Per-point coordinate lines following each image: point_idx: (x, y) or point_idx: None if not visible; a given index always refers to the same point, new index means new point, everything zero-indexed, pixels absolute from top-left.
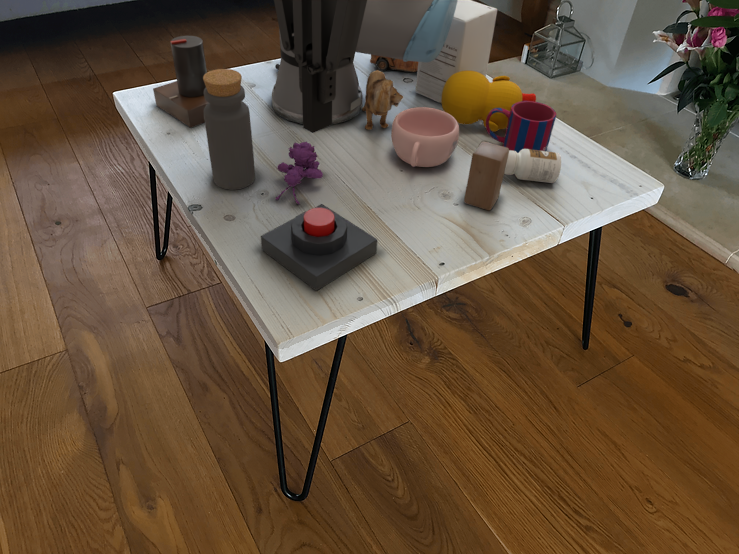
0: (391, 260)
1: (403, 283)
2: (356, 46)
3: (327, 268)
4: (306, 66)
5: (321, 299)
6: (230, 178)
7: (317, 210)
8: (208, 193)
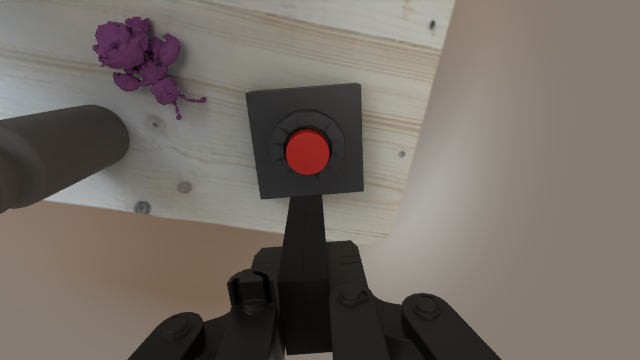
0: (380, 76)
1: (420, 96)
2: (498, 357)
3: (361, 173)
4: (295, 345)
5: (373, 186)
6: (115, 159)
7: (294, 147)
8: (118, 181)
